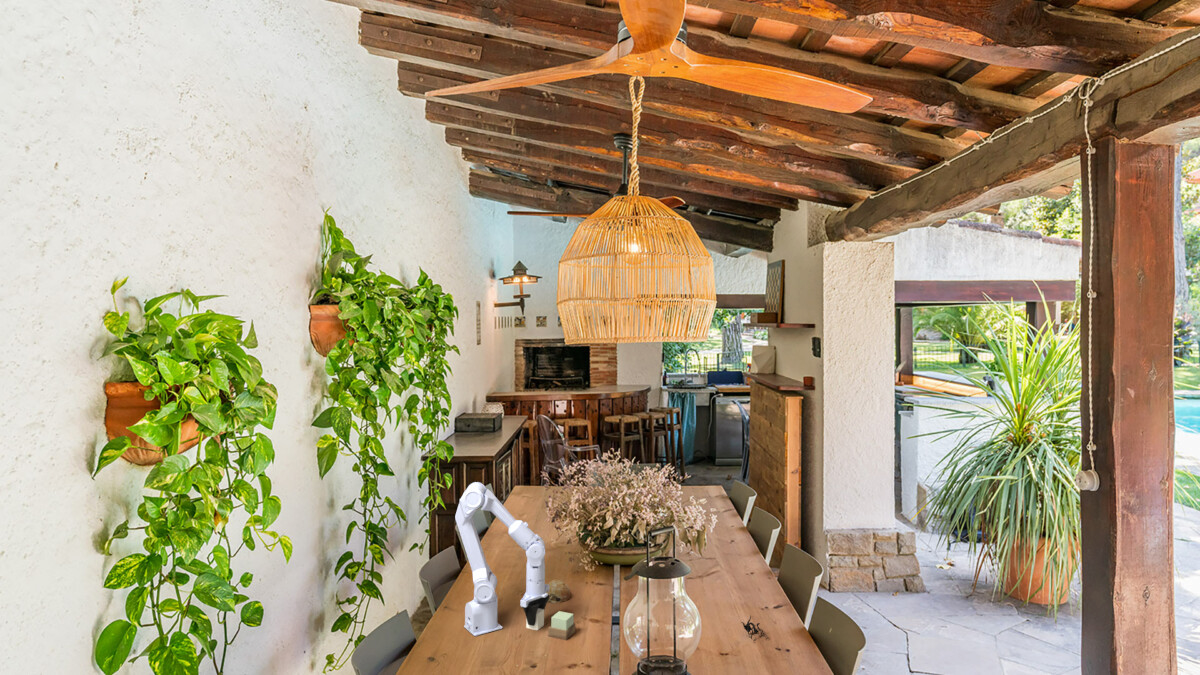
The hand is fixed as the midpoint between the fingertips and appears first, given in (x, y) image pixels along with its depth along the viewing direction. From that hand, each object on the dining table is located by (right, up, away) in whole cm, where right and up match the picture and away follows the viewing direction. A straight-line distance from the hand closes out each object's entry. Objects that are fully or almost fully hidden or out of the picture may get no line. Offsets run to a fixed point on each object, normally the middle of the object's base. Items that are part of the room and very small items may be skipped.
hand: (535, 621), depth 204 cm
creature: (+67, -2, -6) cm, 67 cm away
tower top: (+9, +1, -5) cm, 10 cm away
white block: (0, -2, 0) cm, 2 cm away
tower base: (+9, -2, -5) cm, 10 cm away
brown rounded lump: (+5, -2, +23) cm, 24 cm away
